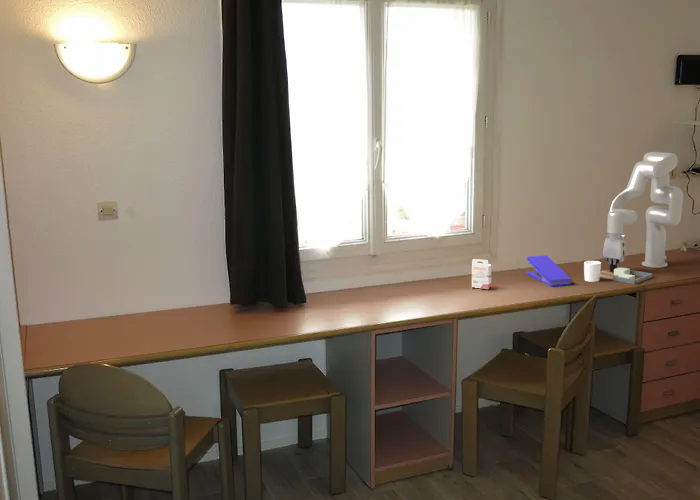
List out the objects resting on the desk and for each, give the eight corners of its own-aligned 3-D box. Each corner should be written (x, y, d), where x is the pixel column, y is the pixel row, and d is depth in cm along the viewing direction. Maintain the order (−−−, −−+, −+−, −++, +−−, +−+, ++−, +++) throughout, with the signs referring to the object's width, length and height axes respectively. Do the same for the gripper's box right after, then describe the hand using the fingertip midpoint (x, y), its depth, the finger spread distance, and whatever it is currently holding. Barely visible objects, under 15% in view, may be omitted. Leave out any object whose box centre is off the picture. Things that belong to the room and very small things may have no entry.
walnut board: (604, 272, 372) (604, 269, 372) (629, 276, 362) (629, 273, 362) (588, 277, 362) (588, 275, 362) (613, 282, 352) (613, 279, 352)
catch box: (630, 275, 363) (630, 270, 362) (652, 279, 355) (652, 273, 354) (612, 282, 352) (613, 276, 351) (635, 286, 343) (635, 280, 343)
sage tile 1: (624, 279, 354) (624, 273, 354) (634, 281, 350) (634, 275, 350) (618, 281, 351) (618, 275, 350) (628, 283, 347) (629, 277, 346)
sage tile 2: (619, 272, 365) (619, 267, 364) (629, 274, 361) (629, 268, 360) (613, 274, 361) (613, 268, 361) (624, 276, 357) (624, 270, 357)
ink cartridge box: (491, 288, 349) (491, 258, 346) (488, 290, 344) (488, 260, 341) (474, 286, 353) (474, 256, 350) (471, 288, 348) (471, 259, 345)
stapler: (544, 272, 376) (544, 254, 374) (572, 285, 349) (572, 266, 347) (524, 274, 373) (524, 256, 371) (550, 287, 347) (550, 267, 345)
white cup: (597, 285, 348) (598, 264, 346) (581, 283, 352) (581, 263, 350) (602, 281, 354) (603, 261, 352) (586, 279, 358) (587, 260, 356)
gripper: (632, 236, 357) (630, 272, 361) (604, 233, 369) (603, 268, 372) (625, 238, 353) (623, 275, 356) (597, 235, 364) (595, 270, 367)
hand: (613, 271), depth 364 cm, fingers closed
